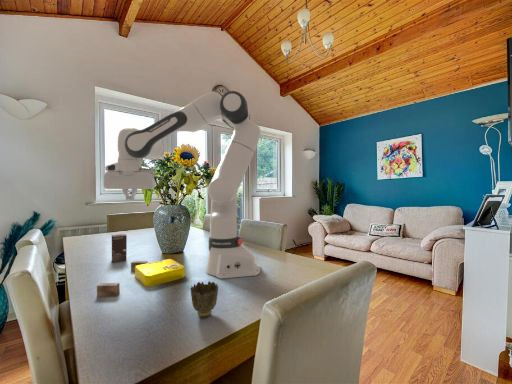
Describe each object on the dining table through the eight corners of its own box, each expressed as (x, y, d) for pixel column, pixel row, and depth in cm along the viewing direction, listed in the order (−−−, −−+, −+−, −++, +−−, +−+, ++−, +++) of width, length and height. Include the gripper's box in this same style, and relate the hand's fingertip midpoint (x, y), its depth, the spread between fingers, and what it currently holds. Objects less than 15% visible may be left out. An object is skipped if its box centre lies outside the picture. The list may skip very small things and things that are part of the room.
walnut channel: (147, 269, 103) (147, 261, 102) (116, 296, 78) (116, 285, 78) (133, 269, 102) (133, 261, 102) (96, 296, 77) (96, 285, 77)
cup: (219, 308, 70) (219, 280, 70) (216, 322, 63) (216, 292, 63) (193, 308, 70) (193, 281, 70) (187, 323, 63) (187, 292, 62)
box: (112, 262, 111) (111, 236, 110) (111, 260, 114) (111, 234, 114) (127, 260, 114) (126, 235, 114) (126, 258, 118) (125, 233, 117)
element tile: (170, 268, 105) (170, 257, 105) (186, 278, 94) (186, 265, 94) (133, 276, 95) (133, 264, 95) (146, 289, 84) (146, 275, 84)
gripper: (157, 168, 107) (157, 199, 107) (109, 167, 106) (110, 199, 107) (151, 166, 101) (152, 200, 101) (101, 166, 100) (101, 200, 100)
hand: (130, 199), depth 104 cm, fingers closed
